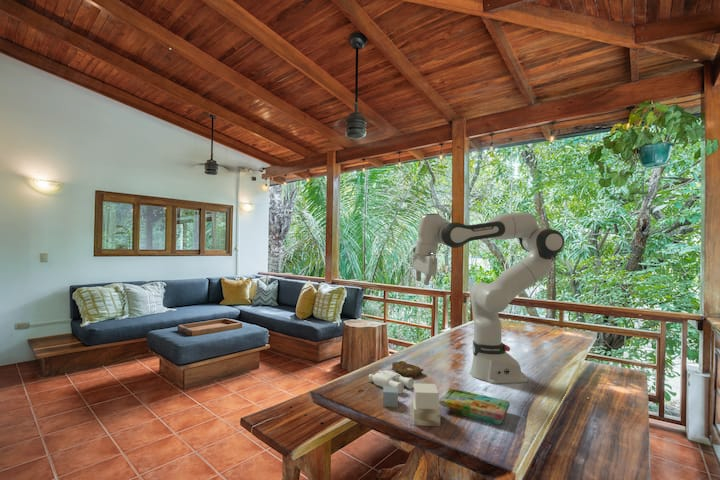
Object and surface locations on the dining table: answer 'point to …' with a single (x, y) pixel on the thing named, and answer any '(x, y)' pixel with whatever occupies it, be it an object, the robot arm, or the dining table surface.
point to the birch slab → (425, 416)
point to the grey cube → (390, 396)
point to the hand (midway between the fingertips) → (422, 282)
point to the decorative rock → (407, 369)
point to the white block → (426, 396)
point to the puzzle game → (476, 405)
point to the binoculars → (391, 380)
